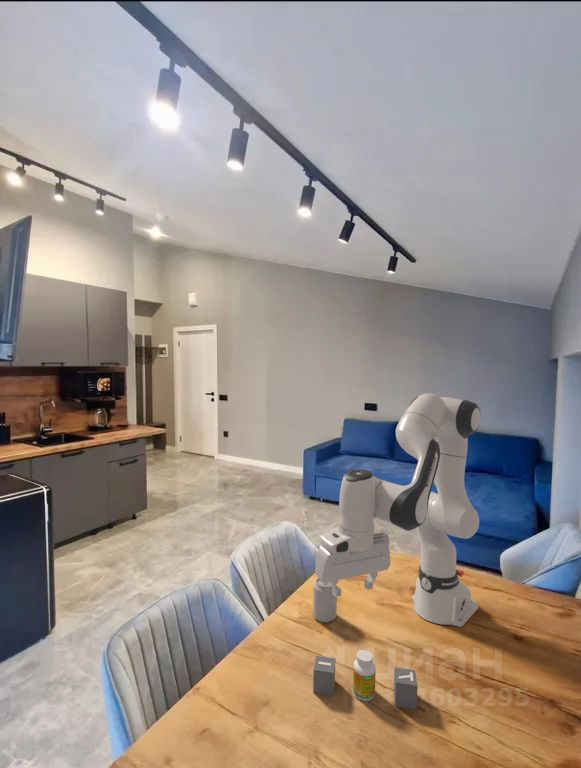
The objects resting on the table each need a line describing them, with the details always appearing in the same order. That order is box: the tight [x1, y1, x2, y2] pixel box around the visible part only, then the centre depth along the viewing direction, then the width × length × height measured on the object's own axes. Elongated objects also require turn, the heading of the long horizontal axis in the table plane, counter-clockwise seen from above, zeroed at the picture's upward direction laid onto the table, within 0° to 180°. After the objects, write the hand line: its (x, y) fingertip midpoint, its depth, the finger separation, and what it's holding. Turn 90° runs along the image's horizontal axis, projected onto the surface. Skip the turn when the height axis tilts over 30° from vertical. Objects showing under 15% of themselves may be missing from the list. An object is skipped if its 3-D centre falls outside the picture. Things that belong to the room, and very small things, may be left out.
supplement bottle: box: [352, 649, 377, 702], centre depth 102 cm, size 5×5×10 cm
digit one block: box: [312, 655, 336, 697], centre depth 103 cm, size 5×5×6 cm
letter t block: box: [393, 666, 418, 711], centre depth 100 cm, size 5×5×6 cm
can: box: [312, 577, 338, 624], centre depth 132 cm, size 8×8×12 cm
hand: (352, 591), depth 101 cm, fingers open, 8 cm apart
